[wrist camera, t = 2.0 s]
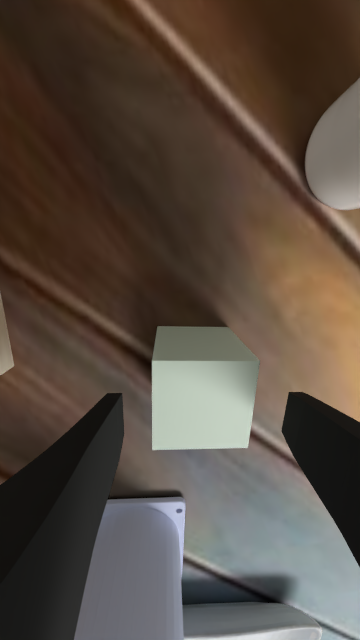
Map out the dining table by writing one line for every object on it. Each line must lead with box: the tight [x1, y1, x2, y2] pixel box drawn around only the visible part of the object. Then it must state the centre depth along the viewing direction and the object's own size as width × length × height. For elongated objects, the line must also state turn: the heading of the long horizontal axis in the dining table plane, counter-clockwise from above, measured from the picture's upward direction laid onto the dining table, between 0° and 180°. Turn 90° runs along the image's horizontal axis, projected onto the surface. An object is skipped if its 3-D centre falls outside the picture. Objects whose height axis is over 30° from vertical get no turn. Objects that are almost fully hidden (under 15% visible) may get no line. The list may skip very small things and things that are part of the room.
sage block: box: [152, 326, 260, 450], centre depth 12 cm, size 5×5×5 cm
